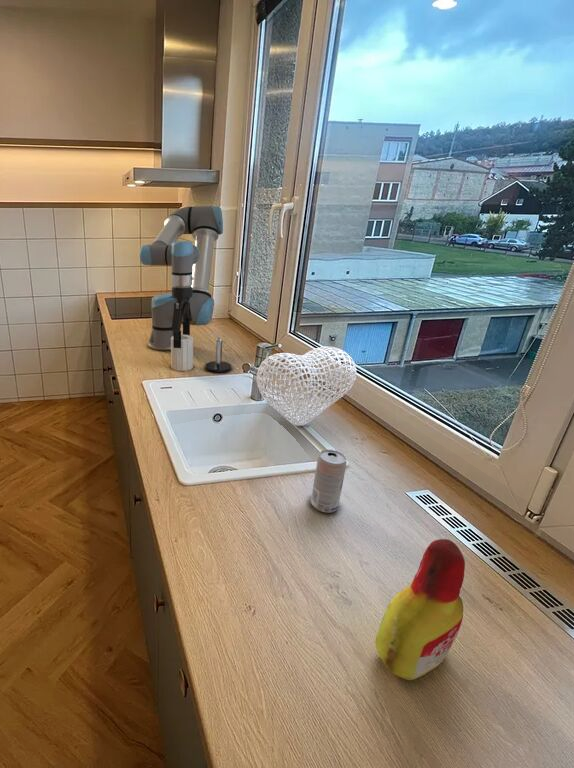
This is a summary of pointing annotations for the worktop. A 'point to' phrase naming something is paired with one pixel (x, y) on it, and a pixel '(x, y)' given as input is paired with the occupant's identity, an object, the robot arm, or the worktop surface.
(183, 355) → the paper towel roll
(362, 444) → the worktop surface
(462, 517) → the worktop surface
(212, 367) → the towel stand
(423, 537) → the worktop surface
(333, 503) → the energy drink
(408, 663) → the bottle
